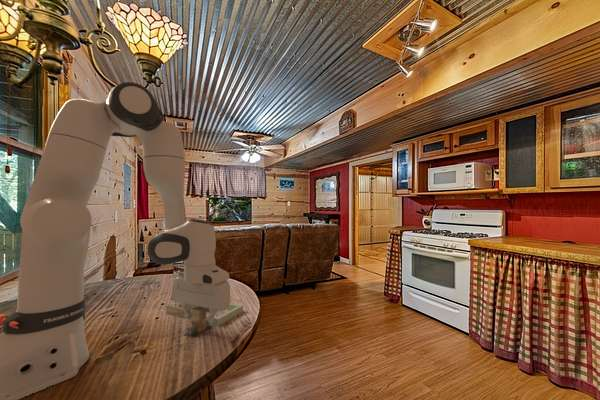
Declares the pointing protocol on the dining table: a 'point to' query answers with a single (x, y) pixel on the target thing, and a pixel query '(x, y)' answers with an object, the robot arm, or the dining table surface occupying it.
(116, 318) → the dining table surface
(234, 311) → the open picture frame
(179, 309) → the slot rails
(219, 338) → the dining table surface
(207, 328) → the pad
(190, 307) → the tan cube
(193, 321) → the wooden block with peg
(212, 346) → the dining table surface
